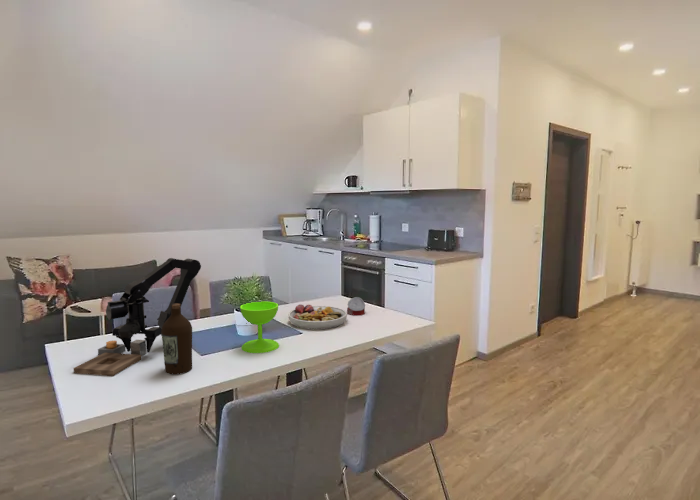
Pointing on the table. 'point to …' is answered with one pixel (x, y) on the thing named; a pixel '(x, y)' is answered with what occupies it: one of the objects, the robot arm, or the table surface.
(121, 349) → the button housing
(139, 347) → the metal billet
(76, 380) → the table surface
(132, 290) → the robot arm
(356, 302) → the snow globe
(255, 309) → the wineglass
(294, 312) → the bowl
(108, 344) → the button
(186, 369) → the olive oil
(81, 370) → the walnut pallet
